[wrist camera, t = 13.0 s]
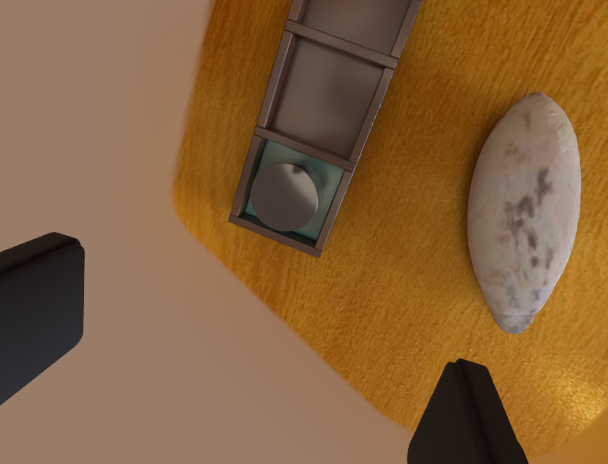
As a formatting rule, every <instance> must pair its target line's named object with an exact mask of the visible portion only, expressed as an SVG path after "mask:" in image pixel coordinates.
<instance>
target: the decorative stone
mask: <svg viewBox="0 0 608 464" xmlns="http://www.w3.org/2000/svg"><path fill="white" fill-rule="evenodd" d="M580 191H581V170H580V159H579V151H578V145H577V139H576V135H575V133H574V131H573V127H572V124H571V123H570V120H569V119H568V117H567V116H566V114H565V113H564V111H563V110H562V108H561V107H560V106H559V105H557V104H556V103H555V102H554V100H553V99H551V98H550V97H549V96H546V95H544V94H543V93H542V92H535V93H532V94H529V95H527V96H525V97H523V98H522V99H520V100H519V101H518V102H517V103H516V104H515V105H513V106H512V107H511V108H510V109H509V111H508V112H507V113H505V115H504V116H503V117H502V118H501V119H500V120H499V122H498V123H497V124H496V126H495V127H494V129H493V130H492V131H491V133H490V135H489V137H488V139H487V140H486V142H485V144H484V146H483V148H482V151H481V153H480V156H479V158H478V161H477V164H476V167H475V170H474V173H473V177H472V182H471V187H470V192H469V198H468V210H467V236H468V246H469V252H470V257H471V261H472V265H473V270H474V272H475V275H476V278H477V280H478V282H479V285H480V287H481V290H482V293H483V295H484V298H485V300H486V302H487V304H488V306H489V307H490V308H491V309H492V315H493V317H494V320H495V322H496V323H497V324H498V326H499V327H500V328H501V329H502V330H503V331H504V332H507V333H510V334H519V333H522V332H524V331H525V330H526V328H527V327H528V326H529V325H530V324H531V323H532V322H533V320H534V317H535V313H537V312H539V311H540V310H541V308H542V307H543V306H544V304H545V303H546V301H547V300H548V298H549V296H550V294H551V292H552V290H553V288H554V286H555V284H556V283H557V281H558V280H559V278H560V276H561V274H562V273H563V271H564V268H565V266H566V264H567V262H568V259H569V256H570V254H571V251H572V248H573V243H574V239H575V234H576V231H577V224H578V220H579V210H580Z"/></svg>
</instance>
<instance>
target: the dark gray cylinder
mask: <svg viewBox="0 0 608 464" xmlns="http://www.w3.org/2000/svg"><path fill="white" fill-rule="evenodd" d="M323 197H324V182H323V179H322V176H321V175H320V173H319V171H318V170H317V169H316V168H315V167H314V166H313V165H312V164H311V163H309V162H308V161H306V160H303V159H300V158H285V159H282V160H280V161H277V162H275V163H273V164H271V165H269V166H267V167H265V168H264V169H263V170H261V171H260V172H259V173H258V174H257V176H256V177H255V179H254V181H253V183H252V186H251V191H250V200H251V204H252V208H253V210H254V212H255V214H256V215H257V217H258V218H259V219H260V220H261V221H262V222H263V223H264V224H265V225H267V226H269V227H270V228H273V229H275V230H278V231H294V230H297V229H300V228H302V227H303V226H305V225H306V224H307V223H308V222H309V221H310V220H311V219H312V218H313V216H314V215H315V213H316V211H317V210H318V208H319V207H320V205H321V203H322V201H323Z"/></svg>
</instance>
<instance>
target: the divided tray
mask: <svg viewBox="0 0 608 464" xmlns="http://www.w3.org/2000/svg"><path fill="white" fill-rule="evenodd" d="M422 1H423V0H292V3H291V6H290V10H289V13H288V17H287V20H286V24H285V27H284V31H283V34H282V38H281V41H280V44H279V48H278V51H277V55H276V58H275V62H274V65H273V69H272V72H271V75H270V79H269V82H268V86H267V89H266V93H265V96H264V99H263V103H262V106H261V110H260V113H259V117H258V120H257V124H256V125H257V126H256V127H255V130H254V134H253V137H252V140H251V144H250V147H249V151H248V154H247V158H246V161H245V165H244V168H243V171H242V175H241V178H240V182H239V185H238V189H237V192H236V196H235V199H234V202H233V206H232V209H231V213H230V216H229V220H228V222H231V223H233V224H236V225H238V226H241V227H243V228H246V229H248V230H251V231H253V232H256V233H258V234H261V235H263V236H265V237H268V238H270V239H273V240H275V241H278V242H280V243H283V244H285V245H288V246H290V247H293V248H295V249H298V250H300V251H303V252H305V253H307V254H310V255H312V256H315V257H317V258H320V255H321V253H322V250H323V248H324V245H325V243H326V240H327V238H328V235H329V233H330V230H331V228H332V225H333V223H334V220H335V218H336V215H337V213H338V210H339V208H340V206H341V203H342V201H343V198H344V196H345V193H346V191H347V188H348V186H349V183H350V181H351V178H352V176H353V173H354V171H355V168H356V166H357V163H358V161H359V158H360V156H361V153H362V151H363V148H364V146H365V143H366V141H367V138H368V136H369V133H370V131H371V128H372V126H373V123H374V121H375V118H376V116H377V113H378V111H379V108H380V106H381V103H382V101H383V98H384V96H385V93H386V91H387V88H388V86H389V83H390V81H391V78H392V76H393V73H394V71H395V68H396V66H397V63H398V61H399V58H400V56H401V53H402V51H403V48H404V46H405V43H406V41H407V39H408V36H409V34H410V31H411V29H412V26H413V24H414V21H415V19H416V16H417V14H418V11H419V9H420V6H421V4H422ZM285 158H300V159H303V160H306V161H308V162H309V163H311V164H312V165H313V166H314V167H315V168H316V169H317V170H318V171H319V173H320V175H321V176H322V179H323V182H324V197H323V201H322V203H321V205H320V207H319V208H318V210H317V211H316V213H315V215H314V216H313V218H312V219H311V220H310V221H309V222H308V223H307V224H306V225H305V226H303V227H302V228H300V229H297V230H294V231H278V230H275V229H273V228H270V227H269V226H267V225H265V224H264V223H263V222H262V221H261V220H260V219H259V218H258V217H257V215H256V214H255V212H254V210H253V208H252V204H251V200H250V191H251V186H252V183H253V181H254V179H255V177H256V176H257V174H258V173H259V172H260V171H261V170H263V169H264V168H265V167H267V166H269V165H271V164H273V163H275V162H277V161H280V160H282V159H285Z"/></svg>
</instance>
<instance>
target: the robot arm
mask: <svg viewBox="0 0 608 464" xmlns="http://www.w3.org/2000/svg"><path fill="white" fill-rule="evenodd" d="M84 254H85V252H84V249H83V247H82V246H81V244H80V242H79V240H77V239H76V238H73V237H70V236H67V235H63V234H60V233H56V232H52V233H49V234H46V235H43V236H41V237H38V238H36V239H33V240H30V241H28V242H25V243H23V244H20V245H17V246H15V247H12V248H10V249H7V250H4V251H2V252H0V405H1V404H3V403H4V402H5V401H6V400H8V399H9V398H10V397H12V396H13V395H14V394H15V393H17V392H18V391H19V390H20V389H22V388H23V387H24V386H26V385H27V384H28V383H29V382H31V381H32V380H33V379H34V378H36V377H37V376H38V375H39V374H41V373H42V372H43V371H44V370H46V369H47V368H48V367H49V366H51V365H52V364H53V363H55V362H56V361H57V360H58V359H60V358H61V357H62V356H63V355H65V354H66V353H67V352H69V351H70V350H71V349H72V348H74V347H75V346H76V345H77V344H78V342H79V341H80V339H81V338H82V335H83V314H84V313H83V312H84V258H85V255H84ZM407 463H408V464H529V463H528V461H527V458H526V456H525V453H524V451H523V449H522V447H521V445H520V444H519V442H518V441H517V439H516V436H515V434H514V432H513V429H512V427H511V424H510V422H509V419H508V417H507V415H506V412H505V410H504V407H503V405H502V402H501V400H500V397H499V395H498V393H497V390H496V388H495V385H494V383H493V380H492V378H491V376H490V373H489V371H488V369H487V367H485V366H484V365H480V364H477V363H474V362H471V361H468V360H464V359H461V358H460V359H458V360H457V361H456V362H455V363H453V362H448V363H447V365H446V366H445V368H444V371H443V373H442V375H441V377H440V379H439V381H438V384H437V386H436V388H435V390H434V392H433V394H432V396H431V399H430V401H429V403H428V405H427V407H426V409H425V412H424V414H423V416H422V418H421V420H420V422H419V425H418V427H417V429H416V431H415V433H414V435H413V438H412V440H411V442H410V444H409V448H408V454H407Z"/></svg>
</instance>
